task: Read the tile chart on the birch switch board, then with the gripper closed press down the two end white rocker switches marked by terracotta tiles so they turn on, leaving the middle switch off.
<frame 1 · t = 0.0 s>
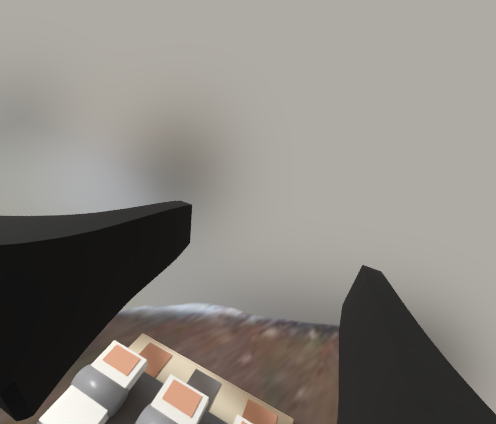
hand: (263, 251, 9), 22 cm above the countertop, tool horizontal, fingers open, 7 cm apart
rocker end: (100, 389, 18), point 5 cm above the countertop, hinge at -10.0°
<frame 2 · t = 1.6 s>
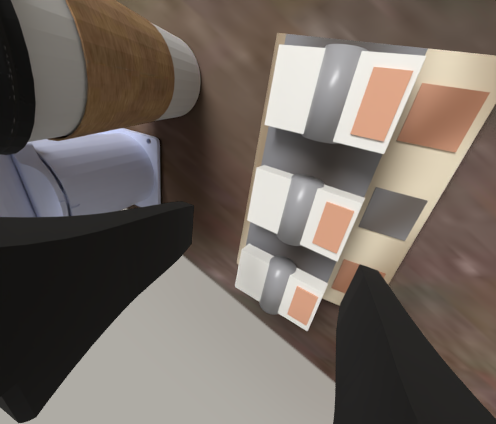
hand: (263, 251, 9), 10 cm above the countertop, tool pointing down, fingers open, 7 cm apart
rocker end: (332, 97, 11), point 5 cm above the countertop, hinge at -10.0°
switch unit: (331, 190, 18), on the countertop
rocker middle: (298, 210, 14), point 5 cm above the countertop, hinge at -10.0°
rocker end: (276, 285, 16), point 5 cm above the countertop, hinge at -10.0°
coffee cup: (172, 79, 19), on the countertop
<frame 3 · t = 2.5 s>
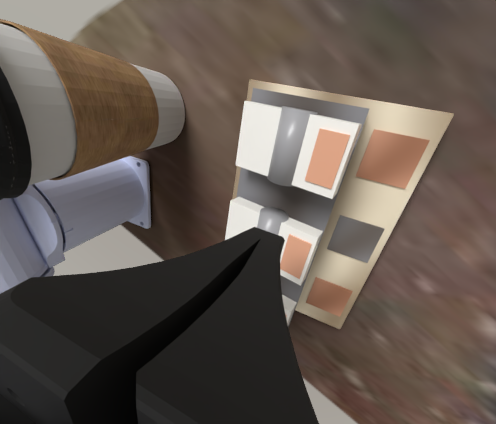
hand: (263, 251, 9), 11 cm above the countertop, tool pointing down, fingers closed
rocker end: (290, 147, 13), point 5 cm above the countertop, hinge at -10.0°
switch unit: (304, 214, 19), on the countertop
rocker middle: (268, 238, 15), point 5 cm above the countertop, hinge at -10.0°
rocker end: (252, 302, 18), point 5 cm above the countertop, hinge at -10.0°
coffee cup: (159, 109, 21), on the countertop
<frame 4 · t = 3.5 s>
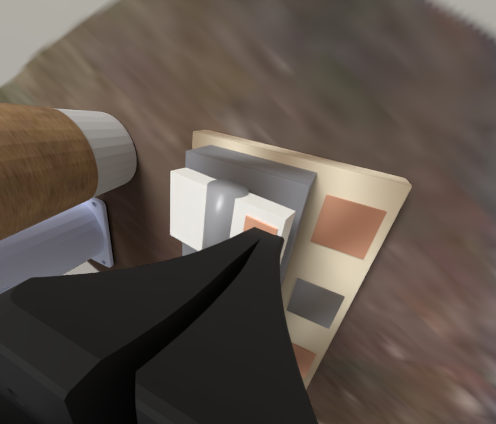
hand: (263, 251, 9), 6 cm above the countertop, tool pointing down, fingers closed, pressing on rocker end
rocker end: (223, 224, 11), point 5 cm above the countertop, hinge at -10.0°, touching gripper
switch unit: (264, 267, 18), on the countertop
coffee cup: (111, 149, 19), on the countertop
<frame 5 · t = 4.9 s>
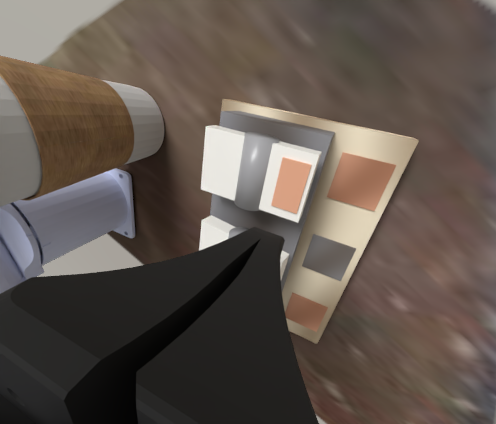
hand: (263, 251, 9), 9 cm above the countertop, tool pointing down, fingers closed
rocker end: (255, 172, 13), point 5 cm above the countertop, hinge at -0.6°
switch unit: (281, 230, 20), on the countertop
rocker middle: (238, 258, 15), point 5 cm above the countertop, hinge at -10.0°
coffee cup: (140, 123, 21), on the countertop
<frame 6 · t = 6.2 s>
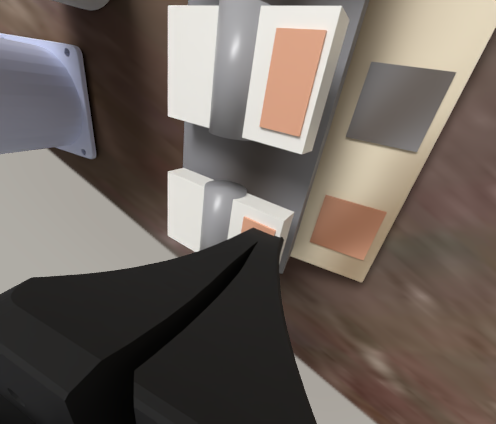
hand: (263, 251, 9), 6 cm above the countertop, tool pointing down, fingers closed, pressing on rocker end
switch unit: (307, 94, 12), on the countertop
rocker middle: (239, 78, 8), point 5 cm above the countertop, hinge at -10.0°
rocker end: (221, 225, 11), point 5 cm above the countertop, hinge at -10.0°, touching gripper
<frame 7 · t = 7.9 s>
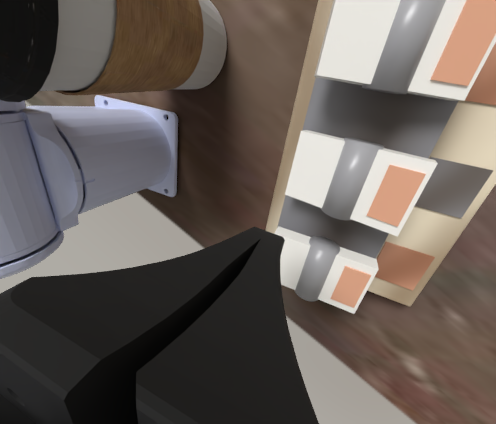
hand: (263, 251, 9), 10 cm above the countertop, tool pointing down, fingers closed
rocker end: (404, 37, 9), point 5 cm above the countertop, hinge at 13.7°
switch unit: (372, 165, 16), on the countertop
rocker middle: (349, 179, 12), point 5 cm above the countertop, hinge at -10.0°
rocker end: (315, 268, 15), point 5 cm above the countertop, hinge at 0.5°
coffee cup: (194, 46, 18), on the countertop
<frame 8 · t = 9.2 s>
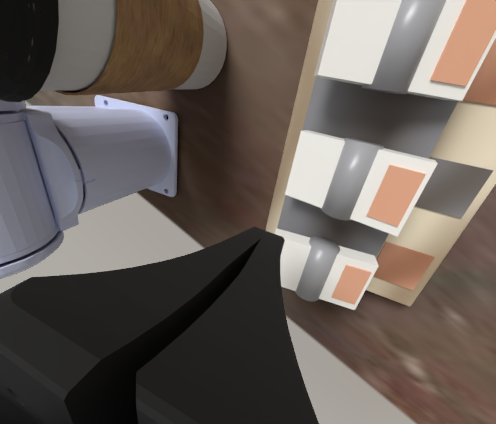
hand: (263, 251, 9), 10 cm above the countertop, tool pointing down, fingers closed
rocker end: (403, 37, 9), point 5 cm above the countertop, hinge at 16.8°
switch unit: (372, 165, 16), on the countertop
rocker middle: (349, 179, 12), point 5 cm above the countertop, hinge at -10.0°
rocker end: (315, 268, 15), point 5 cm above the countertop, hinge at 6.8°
coffee cup: (194, 46, 18), on the countertop
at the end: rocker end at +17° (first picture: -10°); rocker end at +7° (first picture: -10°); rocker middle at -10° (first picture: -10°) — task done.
